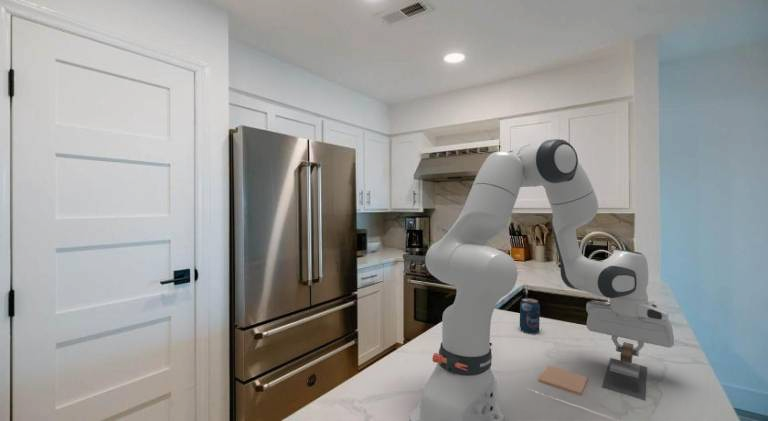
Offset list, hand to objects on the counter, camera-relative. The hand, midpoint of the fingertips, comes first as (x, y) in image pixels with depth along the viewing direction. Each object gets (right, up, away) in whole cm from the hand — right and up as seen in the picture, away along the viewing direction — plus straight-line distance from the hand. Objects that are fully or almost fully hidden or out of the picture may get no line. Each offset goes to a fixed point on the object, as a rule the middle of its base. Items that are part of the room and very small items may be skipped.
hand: (627, 353), depth 95 cm
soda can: (-14, -5, +31) cm, 35 cm away
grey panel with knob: (-2, -1, -3) cm, 4 cm away
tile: (-18, -5, -2) cm, 19 cm away
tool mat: (-3, -6, -3) cm, 7 cm away
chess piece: (+41, -6, +41) cm, 58 cm away
